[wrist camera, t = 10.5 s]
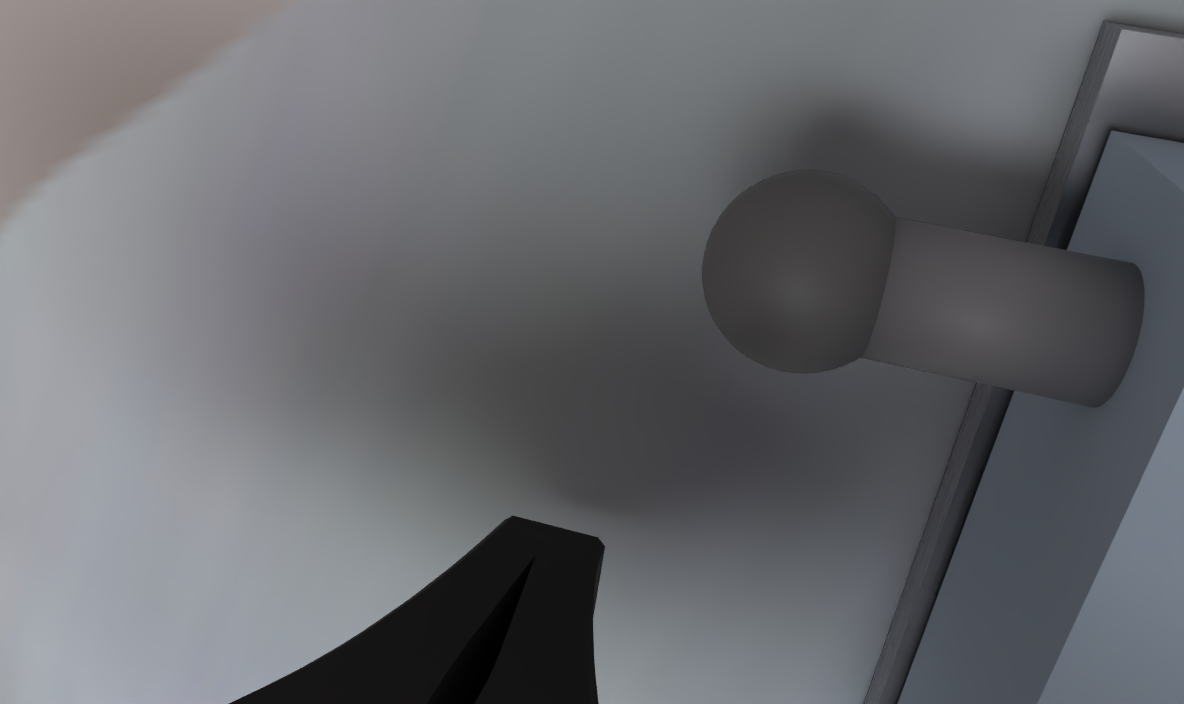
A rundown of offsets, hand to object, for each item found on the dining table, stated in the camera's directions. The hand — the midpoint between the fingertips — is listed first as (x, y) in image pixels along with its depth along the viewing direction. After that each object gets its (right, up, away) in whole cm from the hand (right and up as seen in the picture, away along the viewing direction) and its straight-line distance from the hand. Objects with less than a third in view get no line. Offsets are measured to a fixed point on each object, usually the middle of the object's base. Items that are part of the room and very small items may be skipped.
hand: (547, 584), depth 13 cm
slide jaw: (+5, +1, 0) cm, 5 cm away
